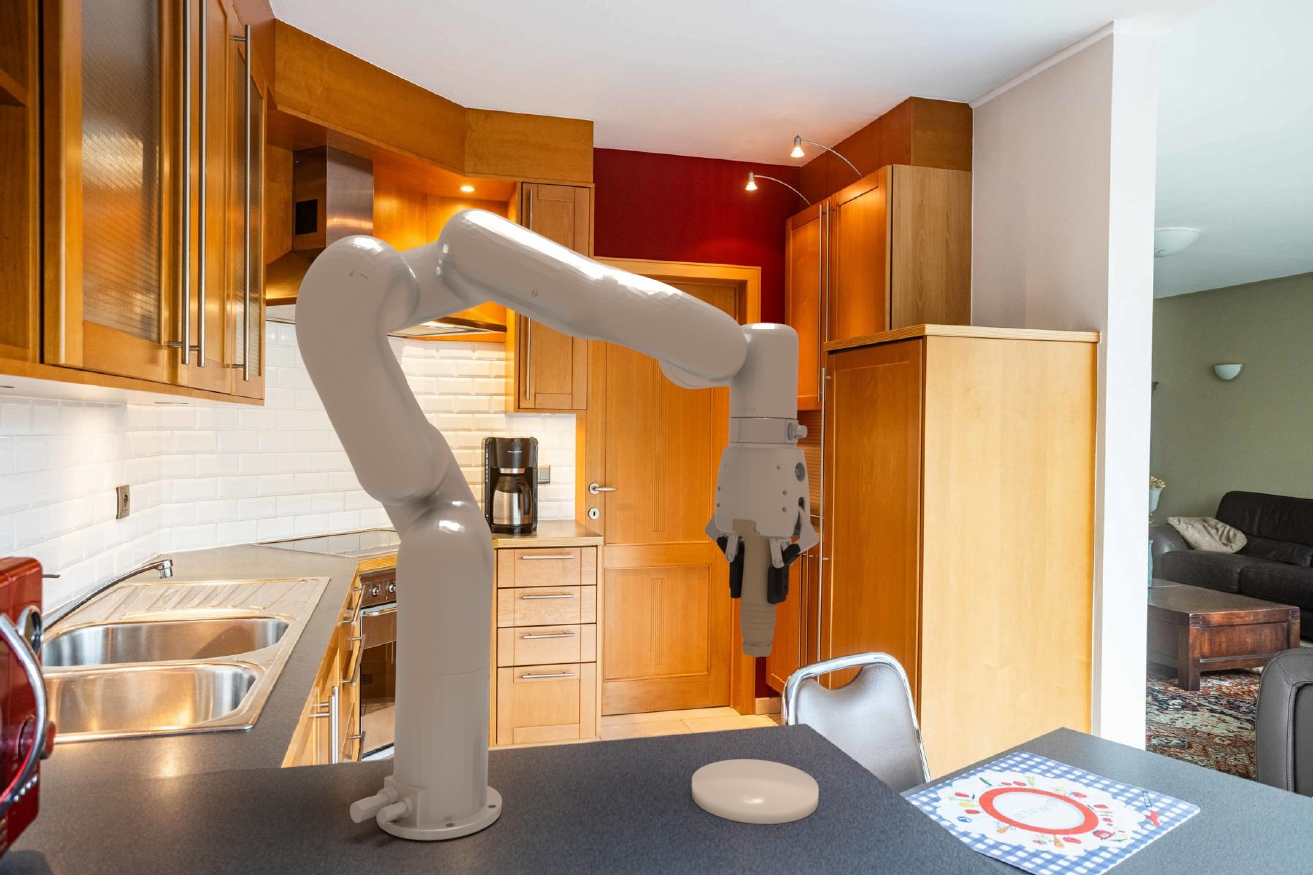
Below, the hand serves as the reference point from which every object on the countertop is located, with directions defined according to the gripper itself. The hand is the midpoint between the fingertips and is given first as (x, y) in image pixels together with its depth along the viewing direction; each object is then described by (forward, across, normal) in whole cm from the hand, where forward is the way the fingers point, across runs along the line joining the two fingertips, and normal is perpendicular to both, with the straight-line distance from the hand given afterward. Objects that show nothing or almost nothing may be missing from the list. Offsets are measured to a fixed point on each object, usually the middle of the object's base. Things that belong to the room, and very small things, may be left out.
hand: (758, 597), depth 95 cm
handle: (+6, 0, 0) cm, 6 cm away
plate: (+22, 0, 0) cm, 22 cm away
